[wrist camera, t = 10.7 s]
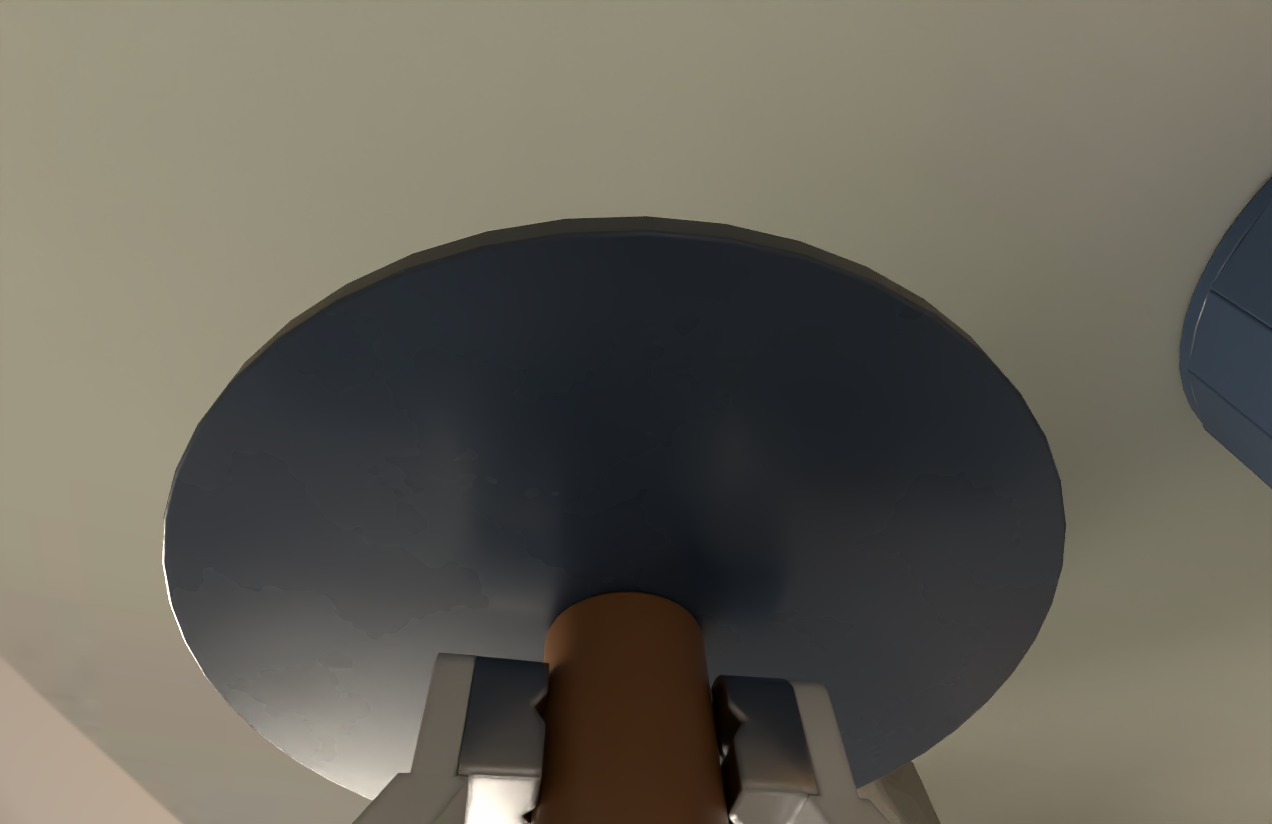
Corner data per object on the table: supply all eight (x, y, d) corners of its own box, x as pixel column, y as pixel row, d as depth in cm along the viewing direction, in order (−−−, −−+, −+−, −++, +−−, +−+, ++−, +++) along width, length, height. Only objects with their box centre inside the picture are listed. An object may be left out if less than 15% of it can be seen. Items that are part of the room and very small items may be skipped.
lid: (101, 99, 7) (-410, 307, 4) (1217, 285, 9) (1644, 554, 5) (254, 771, 15) (134, 1069, 11) (857, 804, 16) (932, 1071, 13)
